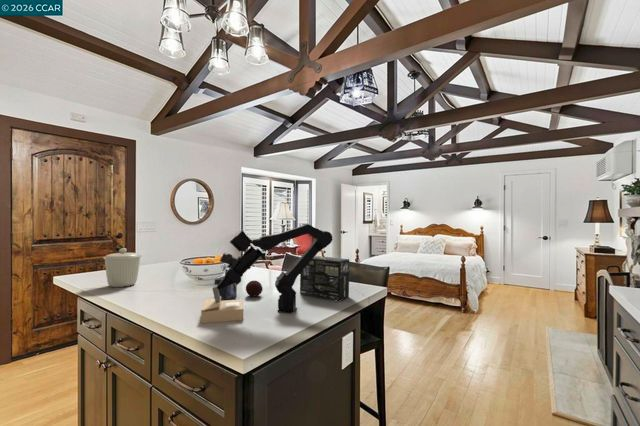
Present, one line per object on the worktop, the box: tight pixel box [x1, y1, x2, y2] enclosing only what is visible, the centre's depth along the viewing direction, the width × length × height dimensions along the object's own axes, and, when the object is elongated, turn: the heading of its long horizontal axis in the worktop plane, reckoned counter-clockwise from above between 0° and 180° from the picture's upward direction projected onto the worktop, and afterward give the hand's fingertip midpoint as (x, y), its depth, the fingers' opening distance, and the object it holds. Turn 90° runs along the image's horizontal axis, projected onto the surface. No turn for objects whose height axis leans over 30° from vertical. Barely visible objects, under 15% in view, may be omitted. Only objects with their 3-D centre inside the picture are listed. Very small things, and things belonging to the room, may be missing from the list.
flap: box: [200, 284, 221, 313], centre depth 117 cm, size 6×13×6 cm, turn 16°
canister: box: [102, 247, 142, 288], centre depth 170 cm, size 18×18×21 cm
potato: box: [245, 280, 263, 297], centre depth 148 cm, size 8×9×8 cm
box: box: [299, 255, 350, 302], centre depth 149 cm, size 23×10×19 cm, turn 58°
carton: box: [200, 299, 244, 324], centre depth 119 cm, size 15×14×4 cm
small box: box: [214, 275, 238, 301], centre depth 142 cm, size 11×6×10 cm, turn 168°
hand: (217, 288), depth 118 cm, fingers closed, pressing on flap
